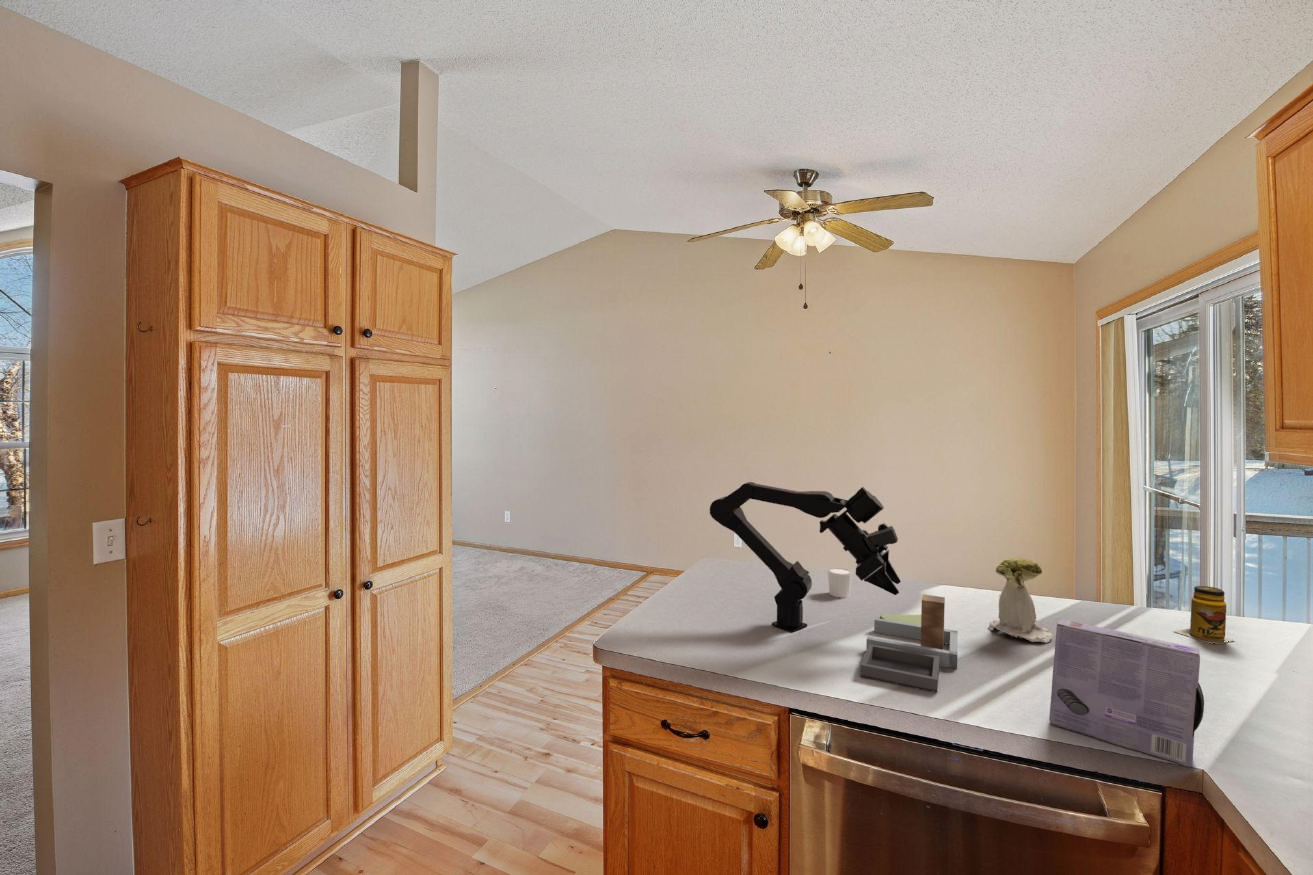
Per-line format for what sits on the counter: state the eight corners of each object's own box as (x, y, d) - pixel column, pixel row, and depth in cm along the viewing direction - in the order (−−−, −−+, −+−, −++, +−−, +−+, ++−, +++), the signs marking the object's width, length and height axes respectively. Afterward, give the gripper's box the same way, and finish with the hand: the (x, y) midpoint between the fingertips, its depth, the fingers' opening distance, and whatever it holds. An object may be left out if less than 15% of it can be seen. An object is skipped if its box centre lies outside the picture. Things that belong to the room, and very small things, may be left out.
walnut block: (920, 653, 128) (921, 599, 128) (921, 645, 132) (922, 594, 132) (943, 657, 126) (944, 603, 126) (943, 649, 130) (944, 597, 130)
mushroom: (1037, 648, 131) (1040, 568, 130) (979, 630, 142) (981, 556, 141) (1060, 637, 138) (1062, 561, 137) (1002, 621, 148) (1004, 550, 148)
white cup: (854, 598, 166) (855, 574, 166) (830, 598, 166) (831, 574, 166) (847, 591, 173) (847, 568, 173) (824, 590, 173) (824, 567, 173)
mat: (899, 633, 140) (899, 631, 140) (880, 617, 151) (880, 615, 151) (943, 632, 140) (943, 630, 140) (921, 616, 151) (921, 614, 151)
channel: (866, 652, 129) (866, 638, 129) (875, 629, 142) (875, 617, 142) (957, 668, 120) (957, 654, 120) (957, 643, 134) (957, 630, 134)
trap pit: (860, 676, 117) (860, 664, 117) (868, 654, 127) (868, 643, 127) (937, 692, 110) (937, 679, 110) (939, 668, 121) (939, 656, 121)
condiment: (1214, 645, 133) (1216, 594, 133) (1172, 631, 142) (1174, 583, 141) (1235, 641, 136) (1237, 591, 135) (1192, 628, 144) (1194, 581, 143)
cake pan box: (1201, 757, 90) (1206, 645, 89) (1202, 772, 86) (1207, 655, 85) (1053, 714, 103) (1056, 616, 102) (1048, 725, 99) (1051, 623, 98)
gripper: (873, 520, 126) (926, 577, 122) (879, 508, 143) (926, 558, 139) (834, 551, 130) (885, 608, 126) (845, 535, 147) (890, 585, 143)
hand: (898, 588), depth 133 cm, fingers open, 9 cm apart
